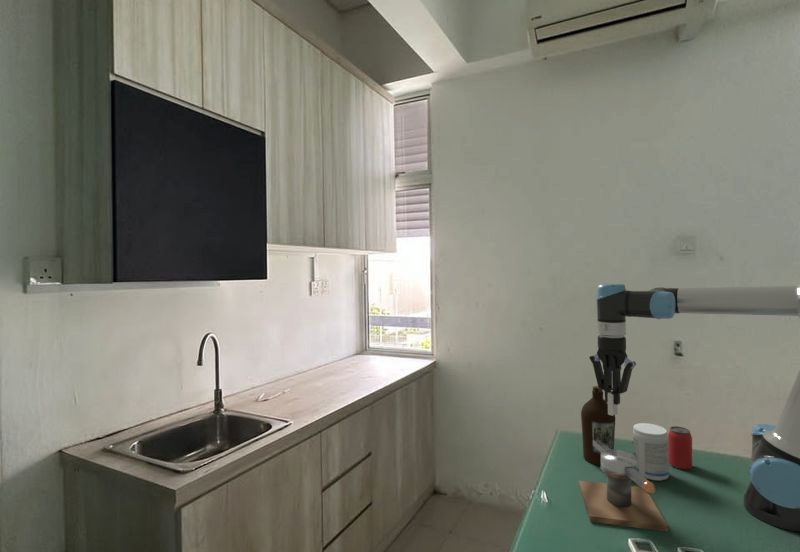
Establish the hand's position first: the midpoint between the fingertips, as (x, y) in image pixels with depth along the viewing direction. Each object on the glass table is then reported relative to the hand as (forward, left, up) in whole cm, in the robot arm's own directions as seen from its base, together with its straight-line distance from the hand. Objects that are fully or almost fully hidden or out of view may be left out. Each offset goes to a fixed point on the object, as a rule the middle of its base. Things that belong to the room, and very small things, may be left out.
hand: (612, 414), depth 123 cm
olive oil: (+1, -18, -23) cm, 29 cm away
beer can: (-24, -19, -23) cm, 38 cm away
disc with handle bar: (0, +11, -12) cm, 16 cm away
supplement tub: (-13, -11, -23) cm, 28 cm away
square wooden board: (+1, +10, -22) cm, 24 cm away
